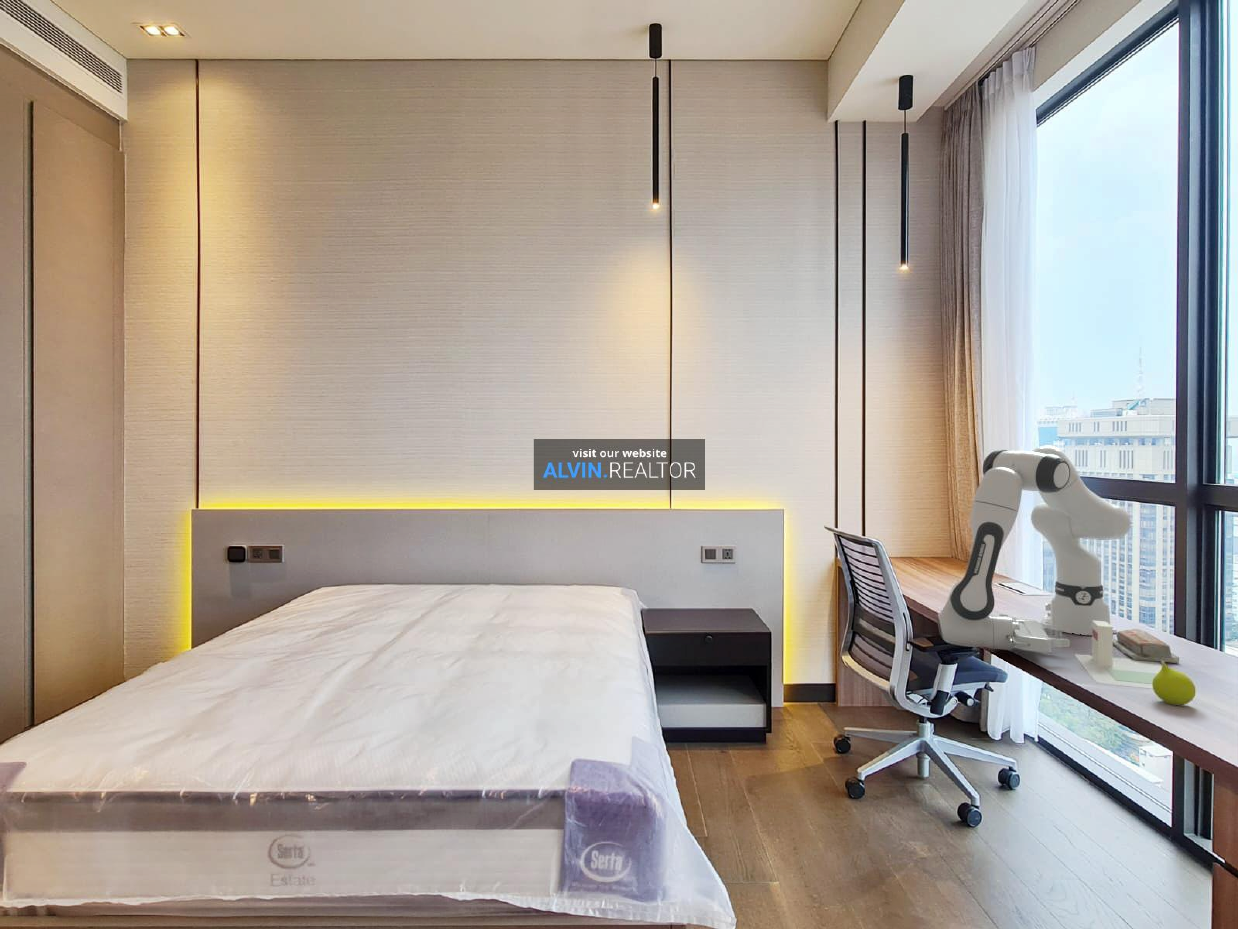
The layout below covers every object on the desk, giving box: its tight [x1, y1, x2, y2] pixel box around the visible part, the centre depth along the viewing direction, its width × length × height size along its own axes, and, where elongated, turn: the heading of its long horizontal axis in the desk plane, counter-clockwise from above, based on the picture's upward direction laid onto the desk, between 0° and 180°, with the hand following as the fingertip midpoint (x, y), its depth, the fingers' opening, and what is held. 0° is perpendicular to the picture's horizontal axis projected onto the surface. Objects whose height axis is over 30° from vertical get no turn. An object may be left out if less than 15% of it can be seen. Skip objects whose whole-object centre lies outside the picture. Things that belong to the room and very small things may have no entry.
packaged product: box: [1113, 628, 1180, 664], centre depth 176 cm, size 18×5×10 cm
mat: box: [1073, 653, 1162, 690], centre depth 161 cm, size 24×18×1 cm
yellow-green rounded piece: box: [1152, 655, 1197, 706], centre depth 142 cm, size 7×7×10 cm
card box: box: [1091, 620, 1114, 667], centre depth 168 cm, size 6×3×10 cm, turn 156°
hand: (1065, 638), depth 172 cm, fingers open, 8 cm apart
